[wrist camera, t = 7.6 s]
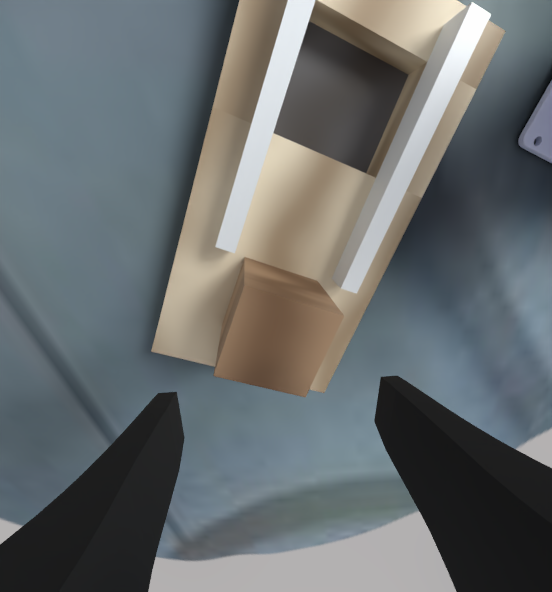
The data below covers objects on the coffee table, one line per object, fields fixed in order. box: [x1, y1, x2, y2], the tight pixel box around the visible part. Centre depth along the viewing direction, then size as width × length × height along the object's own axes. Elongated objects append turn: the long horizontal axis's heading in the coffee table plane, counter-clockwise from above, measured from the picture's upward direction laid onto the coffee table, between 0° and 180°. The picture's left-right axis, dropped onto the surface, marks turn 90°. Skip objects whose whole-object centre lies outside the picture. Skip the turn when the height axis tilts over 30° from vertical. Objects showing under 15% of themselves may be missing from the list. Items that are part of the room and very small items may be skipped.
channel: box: [215, 0, 491, 294], centre depth 14 cm, size 8×13×2 cm, turn 160°
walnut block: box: [214, 257, 344, 397], centre depth 15 cm, size 5×5×5 cm
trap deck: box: [151, 0, 505, 393], centre depth 17 cm, size 12×22×2 cm, turn 160°
